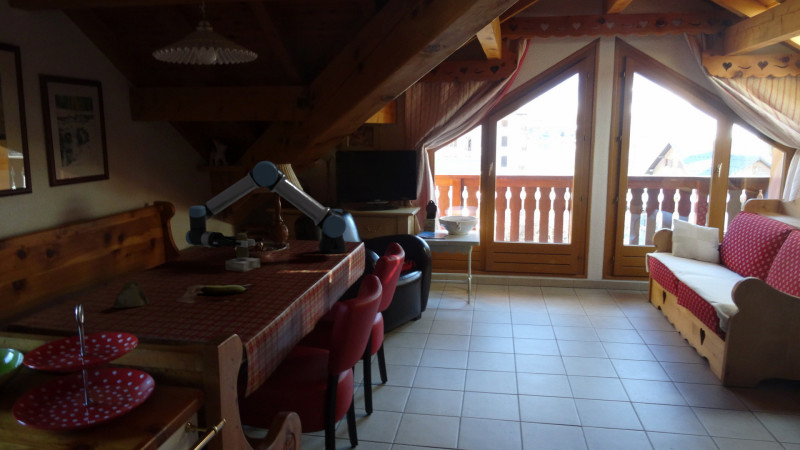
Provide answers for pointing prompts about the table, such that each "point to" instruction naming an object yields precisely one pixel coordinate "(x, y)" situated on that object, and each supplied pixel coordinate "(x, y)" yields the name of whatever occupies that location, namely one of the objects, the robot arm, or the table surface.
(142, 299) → the rock
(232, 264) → the white stand
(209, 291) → the brown green uneven piece
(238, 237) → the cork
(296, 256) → the table surface
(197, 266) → the table surface
